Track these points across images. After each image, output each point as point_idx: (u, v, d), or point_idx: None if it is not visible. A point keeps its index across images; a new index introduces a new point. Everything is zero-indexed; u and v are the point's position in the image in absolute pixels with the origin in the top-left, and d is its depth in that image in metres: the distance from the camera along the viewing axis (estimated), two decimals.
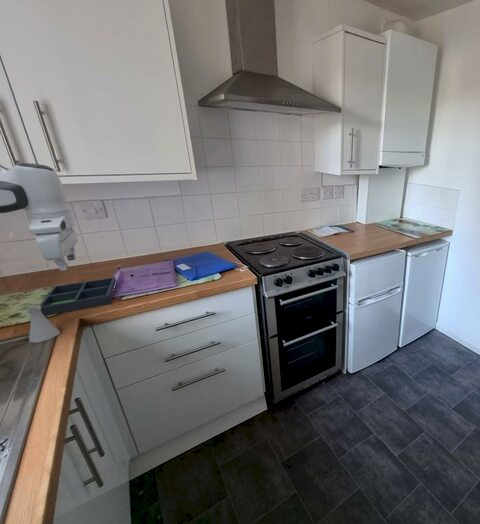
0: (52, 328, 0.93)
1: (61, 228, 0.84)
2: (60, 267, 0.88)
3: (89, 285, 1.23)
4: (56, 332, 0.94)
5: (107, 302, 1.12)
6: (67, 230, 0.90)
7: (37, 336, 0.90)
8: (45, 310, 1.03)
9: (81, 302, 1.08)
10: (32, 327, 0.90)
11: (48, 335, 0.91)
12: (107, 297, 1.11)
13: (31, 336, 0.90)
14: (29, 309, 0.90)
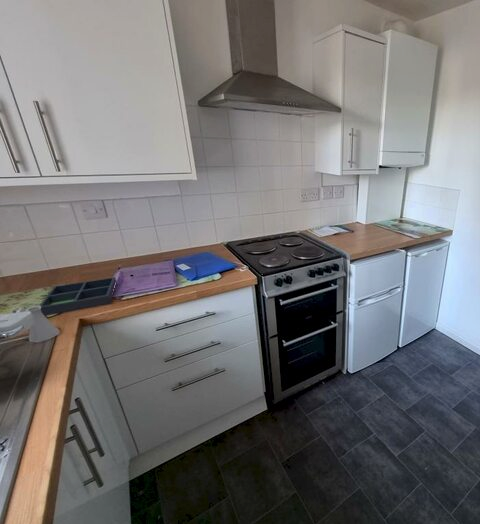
0: (52, 328, 0.93)
1: None
2: None
3: (89, 285, 1.23)
4: (56, 332, 0.94)
5: (107, 302, 1.12)
6: None
7: (37, 336, 0.90)
8: (45, 310, 1.03)
9: (81, 302, 1.08)
10: (32, 327, 0.90)
11: (48, 335, 0.91)
12: (107, 297, 1.11)
13: (31, 336, 0.90)
14: (29, 309, 0.90)
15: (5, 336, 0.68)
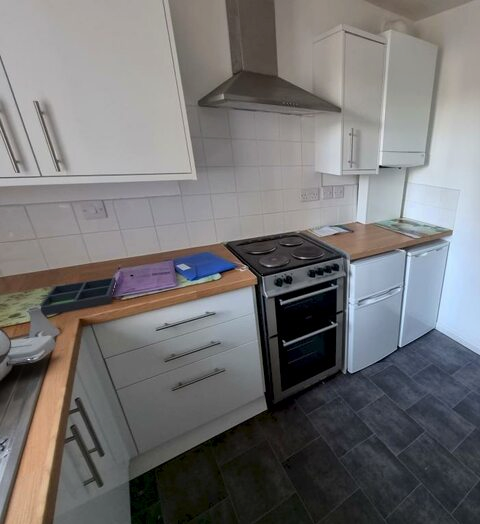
0: (52, 328, 0.93)
1: None
2: None
3: (89, 285, 1.23)
4: (56, 332, 0.94)
5: (107, 302, 1.12)
6: None
7: None
8: (45, 310, 1.03)
9: (81, 302, 1.08)
10: (32, 327, 0.90)
11: (48, 335, 0.91)
12: (107, 297, 1.11)
13: (31, 336, 0.90)
14: (29, 309, 0.90)
15: (30, 361, 0.75)
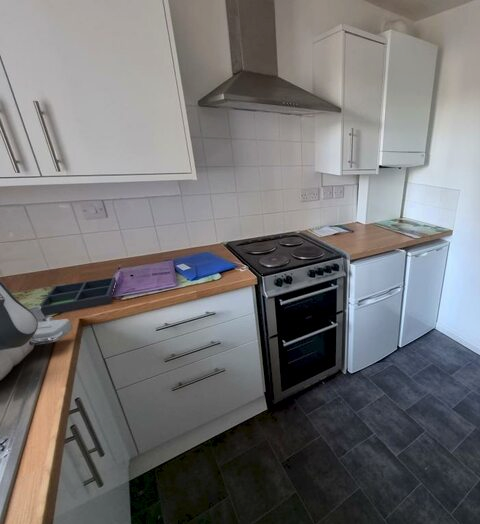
0: None
1: None
2: None
3: (89, 285, 1.23)
4: None
5: (107, 302, 1.12)
6: None
7: None
8: (45, 310, 1.03)
9: (81, 302, 1.08)
10: None
11: None
12: (107, 297, 1.11)
13: None
14: (29, 309, 0.90)
15: (50, 340, 0.83)
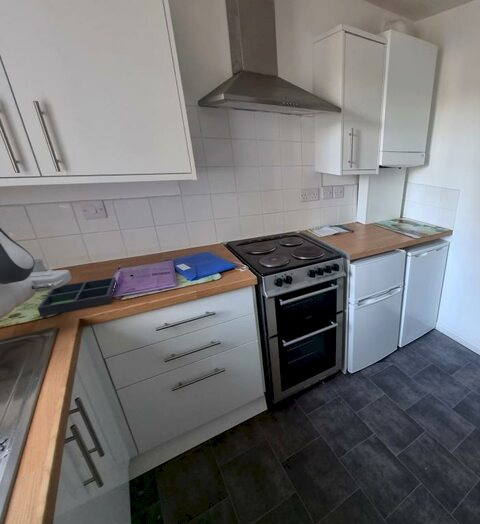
0: None
1: None
2: None
3: (89, 285, 1.23)
4: None
5: (107, 302, 1.12)
6: None
7: None
8: (45, 310, 1.03)
9: (81, 302, 1.08)
10: None
11: None
12: (107, 297, 1.11)
13: None
14: None
15: (51, 286, 0.89)
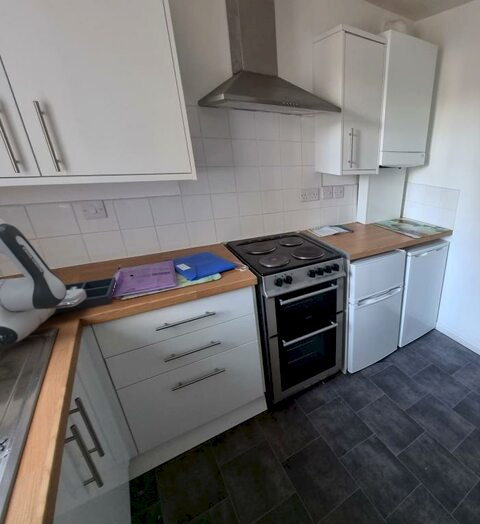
0: None
1: None
2: None
3: (89, 285, 1.23)
4: None
5: (107, 302, 1.12)
6: None
7: None
8: None
9: (81, 302, 1.08)
10: None
11: None
12: (107, 297, 1.11)
13: None
14: None
15: (69, 304, 0.99)
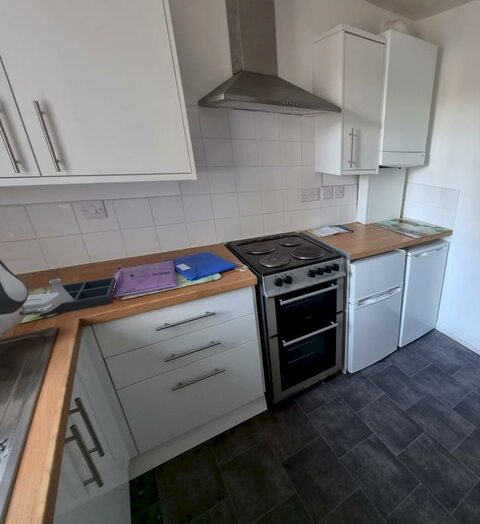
0: (70, 298, 1.09)
1: None
2: None
3: (89, 285, 1.23)
4: None
5: (107, 302, 1.12)
6: None
7: None
8: None
9: (81, 302, 1.08)
10: None
11: None
12: (107, 297, 1.11)
13: None
14: (51, 281, 1.06)
15: (40, 311, 0.86)
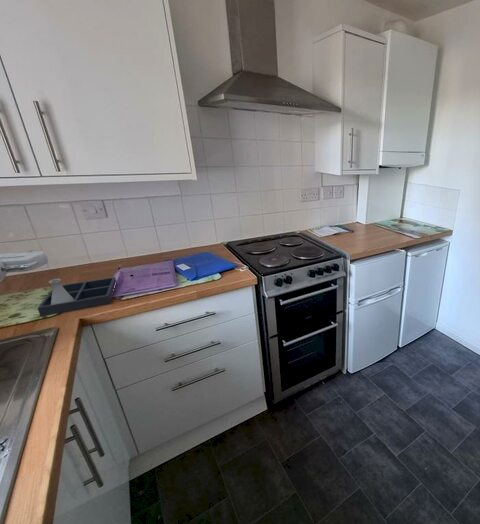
0: (70, 298, 1.09)
1: None
2: None
3: (89, 285, 1.23)
4: None
5: (107, 302, 1.12)
6: None
7: None
8: (45, 310, 1.03)
9: (81, 302, 1.08)
10: (53, 296, 1.06)
11: None
12: (107, 297, 1.11)
13: (52, 304, 1.06)
14: (51, 281, 1.06)
15: (23, 267, 0.81)
